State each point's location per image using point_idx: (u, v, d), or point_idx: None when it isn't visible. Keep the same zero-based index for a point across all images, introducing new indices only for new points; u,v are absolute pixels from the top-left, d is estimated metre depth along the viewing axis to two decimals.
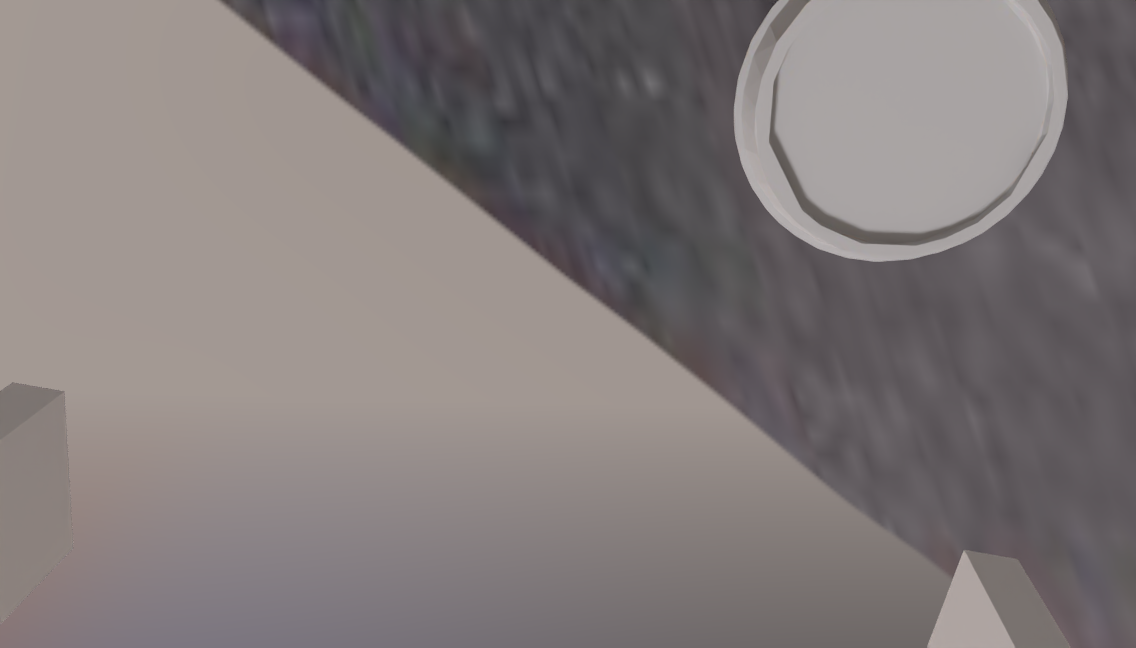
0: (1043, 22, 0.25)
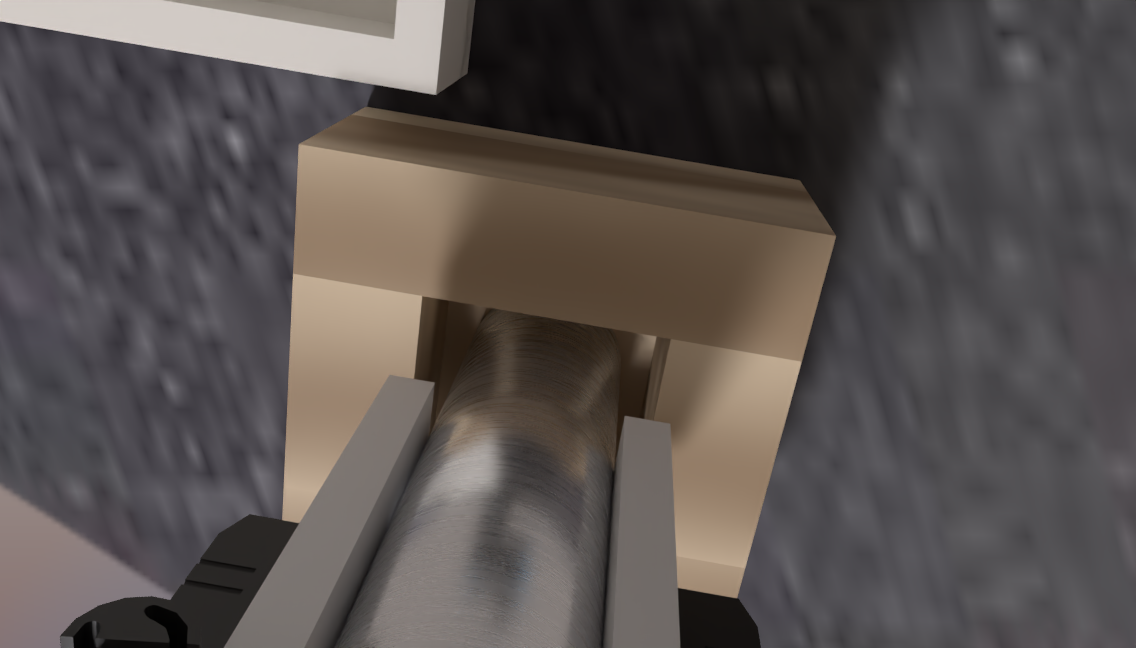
0: None
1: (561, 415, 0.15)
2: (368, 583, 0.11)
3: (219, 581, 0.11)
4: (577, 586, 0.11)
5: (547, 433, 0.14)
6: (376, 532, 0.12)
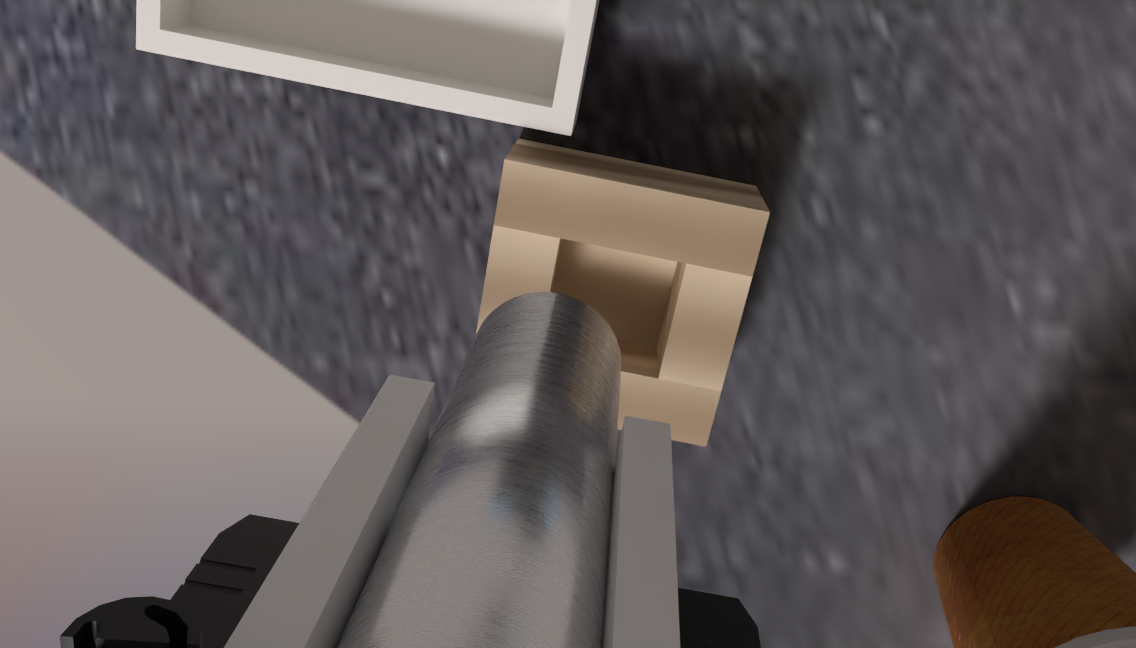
0: None
1: (562, 417, 0.15)
2: (369, 586, 0.11)
3: (219, 581, 0.11)
4: (578, 589, 0.11)
5: (549, 435, 0.14)
6: (376, 532, 0.12)
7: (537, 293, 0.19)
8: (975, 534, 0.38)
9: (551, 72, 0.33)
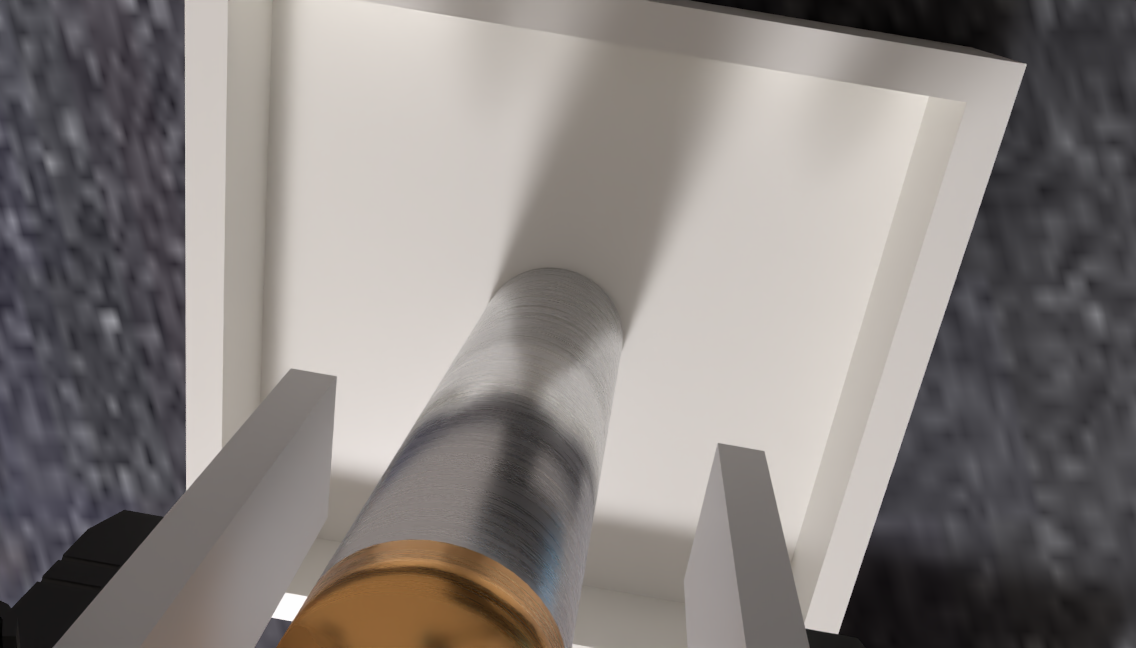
0: None
1: (559, 364, 0.16)
2: (375, 489, 0.13)
3: (78, 578, 0.11)
4: (562, 497, 0.13)
5: (545, 377, 0.15)
6: (253, 528, 0.12)
7: (544, 269, 0.21)
8: None
9: None
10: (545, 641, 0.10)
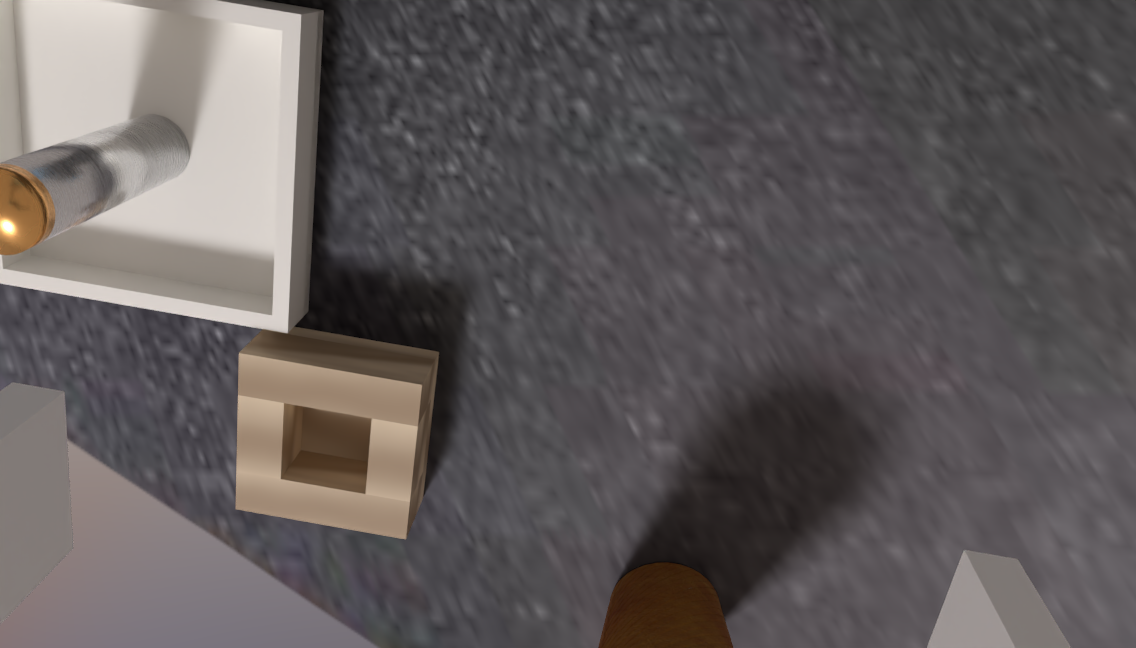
0: None
1: (110, 139, 0.40)
2: None
3: None
4: (75, 168, 0.37)
5: (97, 141, 0.39)
6: None
7: (148, 114, 0.45)
8: (622, 592, 0.51)
9: None
10: (37, 190, 0.34)
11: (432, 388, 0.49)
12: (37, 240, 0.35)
